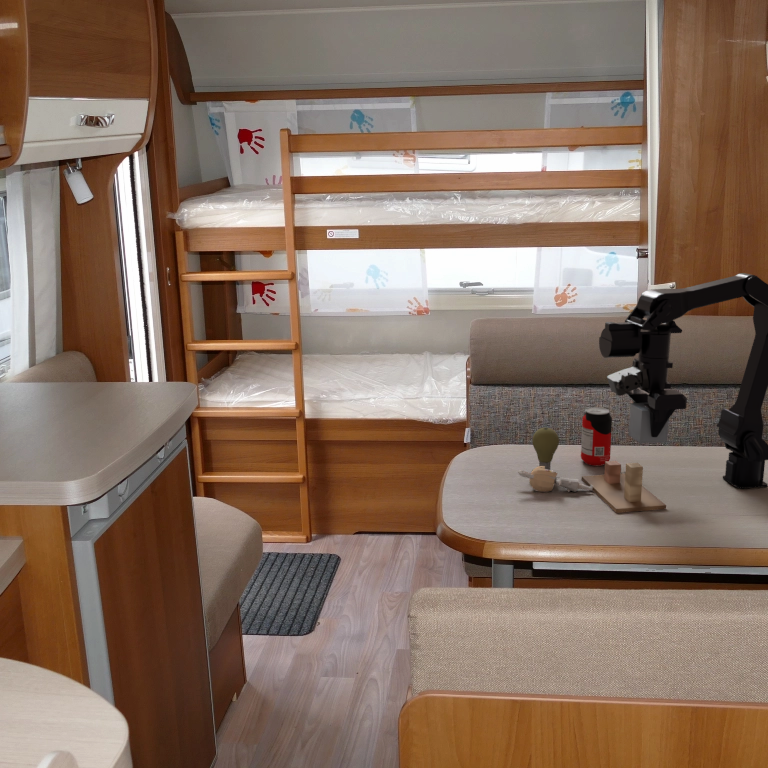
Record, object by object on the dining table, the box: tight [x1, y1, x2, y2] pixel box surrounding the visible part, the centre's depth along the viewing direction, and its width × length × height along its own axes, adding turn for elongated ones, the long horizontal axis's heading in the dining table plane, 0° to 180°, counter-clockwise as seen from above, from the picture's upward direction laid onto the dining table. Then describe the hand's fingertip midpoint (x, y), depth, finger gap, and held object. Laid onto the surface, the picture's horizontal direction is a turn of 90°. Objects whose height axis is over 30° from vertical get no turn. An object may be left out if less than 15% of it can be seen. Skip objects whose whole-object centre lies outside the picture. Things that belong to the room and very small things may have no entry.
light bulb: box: [531, 426, 560, 470], centre depth 181 cm, size 6×6×10 cm
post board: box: [581, 460, 667, 514], centre depth 169 cm, size 10×18×8 cm, turn 8°
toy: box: [517, 465, 593, 493], centre depth 172 cm, size 10×5×15 cm
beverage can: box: [580, 406, 613, 467], centre depth 187 cm, size 6×6×12 cm
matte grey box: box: [628, 402, 670, 444], centre depth 167 cm, size 6×6×7 cm
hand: (648, 432), depth 168 cm, fingers closed on matte grey box, 6 cm apart
